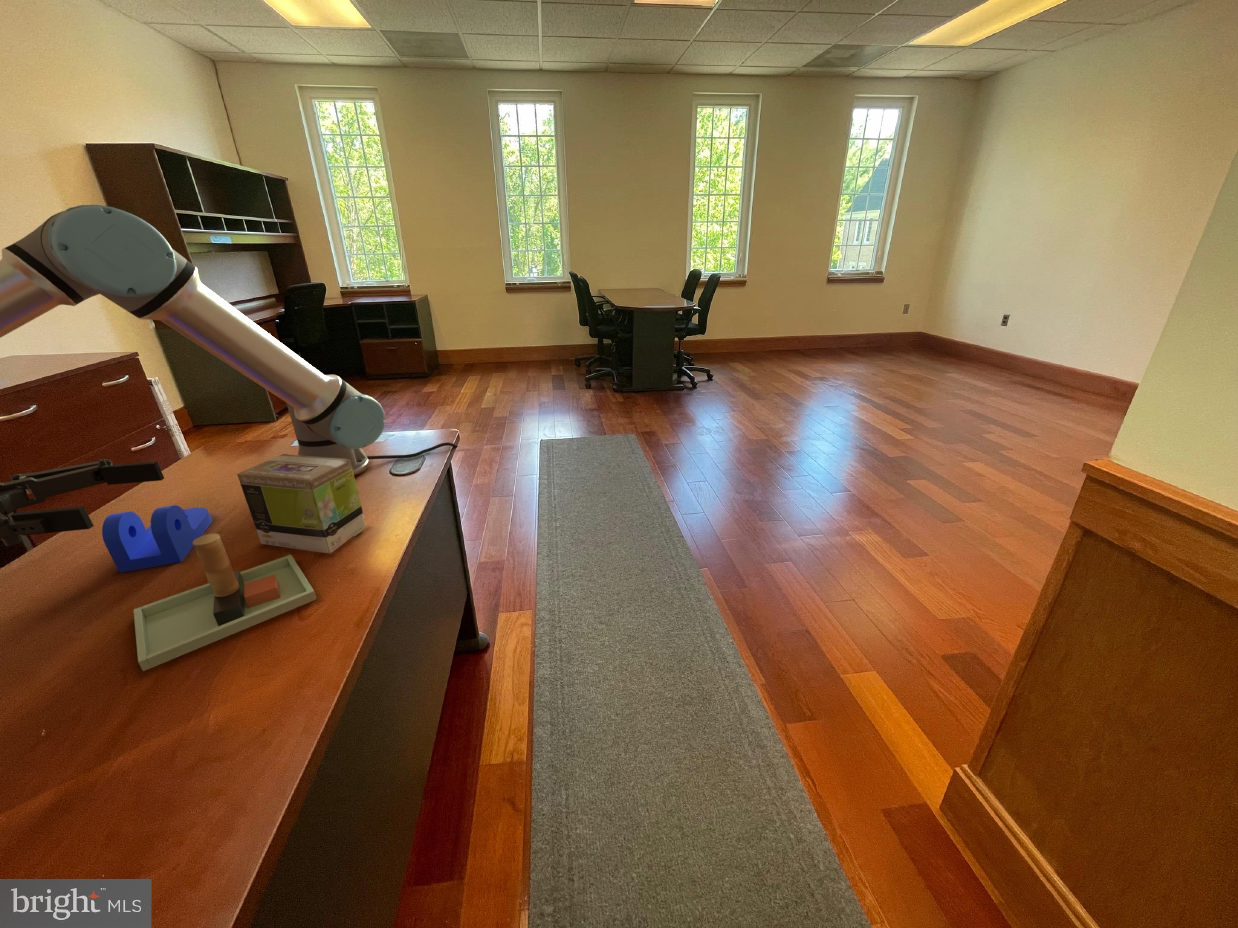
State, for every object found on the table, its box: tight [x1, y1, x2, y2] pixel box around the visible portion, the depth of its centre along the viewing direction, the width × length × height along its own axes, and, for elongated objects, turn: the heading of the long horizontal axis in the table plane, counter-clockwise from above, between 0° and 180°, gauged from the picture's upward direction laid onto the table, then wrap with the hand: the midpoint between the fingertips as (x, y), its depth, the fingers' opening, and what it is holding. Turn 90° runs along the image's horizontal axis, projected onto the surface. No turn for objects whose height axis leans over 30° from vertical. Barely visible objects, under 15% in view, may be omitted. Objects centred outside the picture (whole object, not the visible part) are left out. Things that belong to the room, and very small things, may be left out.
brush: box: [192, 533, 245, 627], centre depth 69 cm, size 3×10×12 cm, turn 36°
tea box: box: [236, 453, 367, 554], centre depth 87 cm, size 15×10×15 cm, turn 78°
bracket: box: [101, 504, 213, 574], centre depth 86 cm, size 18×8×9 cm, turn 21°
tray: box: [133, 554, 317, 672], centre depth 70 cm, size 20×14×2 cm
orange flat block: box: [244, 575, 280, 608], centre depth 73 cm, size 4×4×2 cm
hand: (126, 492), depth 63 cm, fingers open, 13 cm apart
